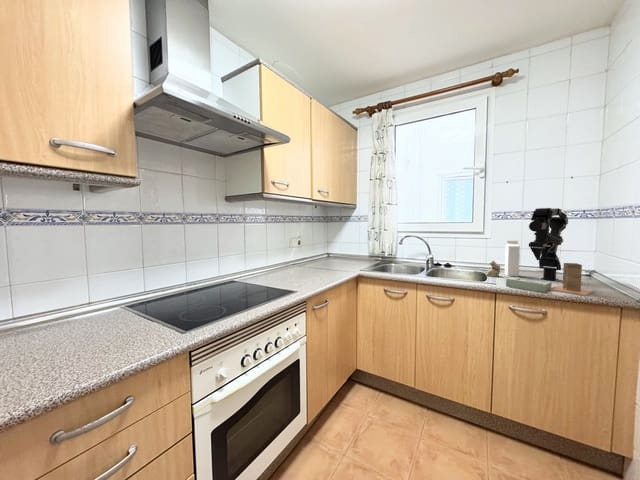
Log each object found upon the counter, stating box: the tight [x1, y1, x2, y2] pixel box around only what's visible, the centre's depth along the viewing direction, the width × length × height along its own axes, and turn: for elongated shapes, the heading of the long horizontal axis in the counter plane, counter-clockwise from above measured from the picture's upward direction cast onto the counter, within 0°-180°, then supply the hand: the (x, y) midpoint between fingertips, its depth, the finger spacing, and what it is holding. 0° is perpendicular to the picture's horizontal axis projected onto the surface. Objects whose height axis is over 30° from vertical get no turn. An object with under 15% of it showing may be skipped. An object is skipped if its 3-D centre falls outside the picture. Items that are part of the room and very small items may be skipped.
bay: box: [505, 277, 553, 293], centre depth 137 cm, size 14×15×4 cm
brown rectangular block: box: [562, 262, 583, 291], centre depth 128 cm, size 5×5×12 cm
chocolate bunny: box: [485, 260, 501, 278], centre depth 166 cm, size 6×8×10 cm
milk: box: [504, 240, 521, 278], centre depth 166 cm, size 6×6×22 cm
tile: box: [548, 284, 595, 297], centre depth 128 cm, size 13×13×1 cm
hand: (541, 259), depth 145 cm, fingers open, 9 cm apart
